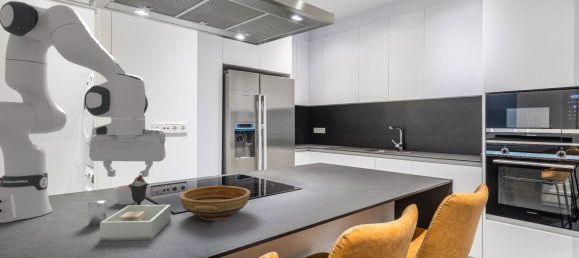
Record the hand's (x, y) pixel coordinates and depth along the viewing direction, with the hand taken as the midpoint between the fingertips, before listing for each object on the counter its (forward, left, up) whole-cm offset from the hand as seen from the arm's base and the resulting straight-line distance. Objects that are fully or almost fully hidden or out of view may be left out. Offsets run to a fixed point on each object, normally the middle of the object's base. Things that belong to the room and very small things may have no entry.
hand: (128, 176), depth 90 cm
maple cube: (+2, -1, -16) cm, 16 cm away
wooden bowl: (+23, +16, -17) cm, 32 cm away
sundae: (-5, +21, -17) cm, 27 cm away
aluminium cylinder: (-13, +9, -17) cm, 23 cm away
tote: (+2, +3, -17) cm, 17 cm away
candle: (-15, +35, -17) cm, 42 cm away
